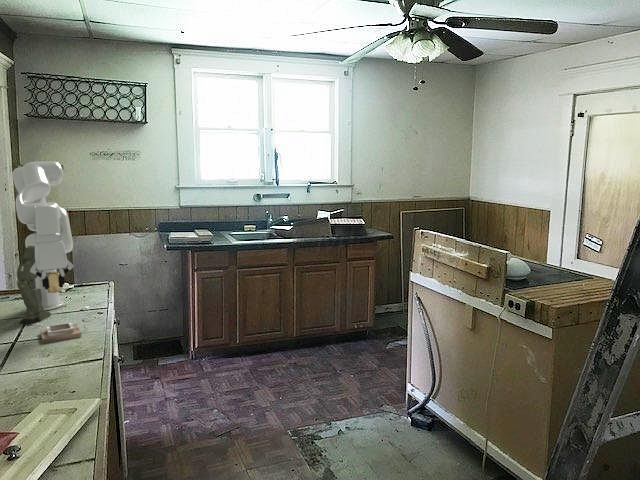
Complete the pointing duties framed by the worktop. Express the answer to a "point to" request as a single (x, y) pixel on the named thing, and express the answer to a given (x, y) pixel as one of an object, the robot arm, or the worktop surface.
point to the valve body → (53, 282)
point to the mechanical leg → (30, 289)
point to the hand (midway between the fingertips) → (54, 287)
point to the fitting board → (60, 332)
